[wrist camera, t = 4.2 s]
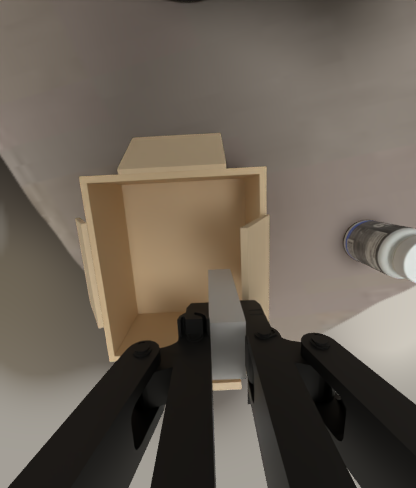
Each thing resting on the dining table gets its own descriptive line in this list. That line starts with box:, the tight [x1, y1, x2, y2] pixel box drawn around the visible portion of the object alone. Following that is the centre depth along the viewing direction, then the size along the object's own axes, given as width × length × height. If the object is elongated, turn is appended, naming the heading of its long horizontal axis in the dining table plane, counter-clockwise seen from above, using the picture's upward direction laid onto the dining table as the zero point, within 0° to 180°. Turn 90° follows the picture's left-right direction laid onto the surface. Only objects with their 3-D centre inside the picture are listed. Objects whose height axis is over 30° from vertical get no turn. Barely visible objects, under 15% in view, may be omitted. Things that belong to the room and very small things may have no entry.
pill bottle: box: [344, 220, 416, 283], centre depth 23 cm, size 5×5×8 cm
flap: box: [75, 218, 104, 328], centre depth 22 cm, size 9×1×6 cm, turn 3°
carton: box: [79, 166, 266, 362], centre depth 23 cm, size 16×14×8 cm
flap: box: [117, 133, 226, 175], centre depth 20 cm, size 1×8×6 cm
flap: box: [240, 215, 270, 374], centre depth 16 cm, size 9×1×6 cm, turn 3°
